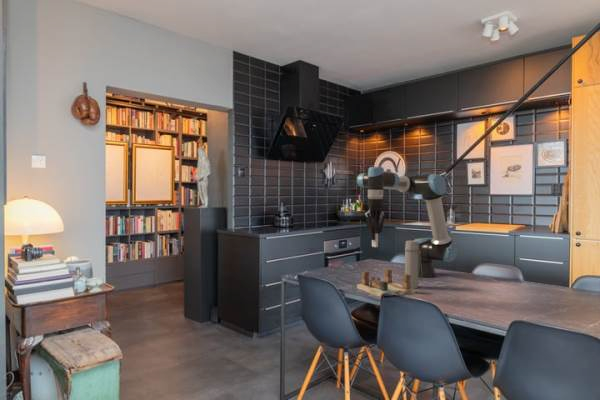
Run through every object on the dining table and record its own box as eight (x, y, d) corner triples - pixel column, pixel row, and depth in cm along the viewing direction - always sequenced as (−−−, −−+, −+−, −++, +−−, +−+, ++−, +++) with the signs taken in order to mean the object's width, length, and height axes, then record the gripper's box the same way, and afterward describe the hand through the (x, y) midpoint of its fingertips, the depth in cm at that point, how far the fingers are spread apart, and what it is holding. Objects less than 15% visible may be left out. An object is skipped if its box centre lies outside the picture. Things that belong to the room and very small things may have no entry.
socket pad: (386, 286, 203) (386, 286, 203) (399, 291, 194) (399, 290, 194) (370, 288, 199) (370, 287, 199) (382, 293, 190) (382, 292, 190)
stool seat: (389, 284, 217) (389, 268, 217) (414, 293, 198) (415, 275, 198) (357, 287, 208) (357, 271, 208) (380, 297, 189) (381, 278, 189)
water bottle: (402, 288, 209) (403, 241, 209) (406, 285, 216) (406, 240, 216) (420, 290, 205) (421, 242, 204) (423, 287, 212) (423, 241, 211)
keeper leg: (372, 285, 205) (372, 277, 205) (387, 290, 193) (387, 281, 193) (368, 285, 203) (368, 277, 203) (383, 291, 192) (383, 282, 192)
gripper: (371, 198, 184) (370, 248, 184) (390, 198, 191) (389, 246, 192) (360, 198, 190) (359, 246, 190) (379, 198, 198) (378, 245, 198)
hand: (374, 246), depth 191 cm, fingers closed
